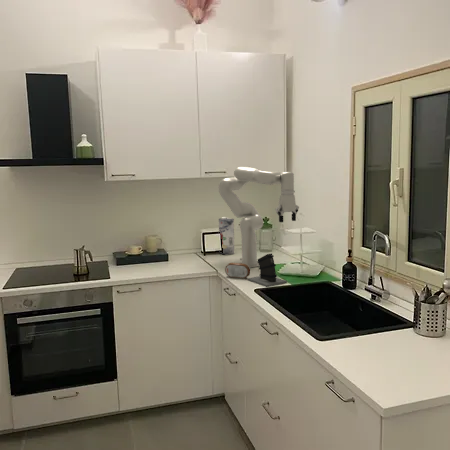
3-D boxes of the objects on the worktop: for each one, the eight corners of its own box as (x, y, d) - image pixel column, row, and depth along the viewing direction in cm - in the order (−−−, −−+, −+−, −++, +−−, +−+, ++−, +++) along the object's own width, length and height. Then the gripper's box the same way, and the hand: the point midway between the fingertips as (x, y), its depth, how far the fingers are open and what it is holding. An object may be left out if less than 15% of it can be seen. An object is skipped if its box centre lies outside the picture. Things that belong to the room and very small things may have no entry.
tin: (250, 278, 273) (250, 263, 272) (248, 279, 271) (248, 264, 269) (226, 275, 280) (226, 261, 278) (224, 277, 277) (224, 263, 276)
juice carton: (228, 251, 351) (227, 215, 347) (236, 254, 342) (235, 216, 338) (217, 253, 346) (217, 216, 342) (225, 255, 337) (224, 217, 333)
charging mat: (247, 280, 269) (247, 274, 268) (267, 276, 276) (267, 270, 276) (266, 286, 254) (266, 280, 253) (286, 282, 261) (286, 276, 261)
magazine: (274, 280, 256) (267, 254, 259) (261, 286, 266) (254, 260, 270) (280, 279, 258) (272, 253, 261) (267, 284, 268) (260, 259, 272)
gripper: (294, 191, 289) (294, 219, 292) (271, 193, 280) (272, 222, 283) (302, 192, 283) (302, 220, 285) (279, 194, 274) (280, 223, 276)
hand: (287, 221), depth 284 cm, fingers open, 9 cm apart
